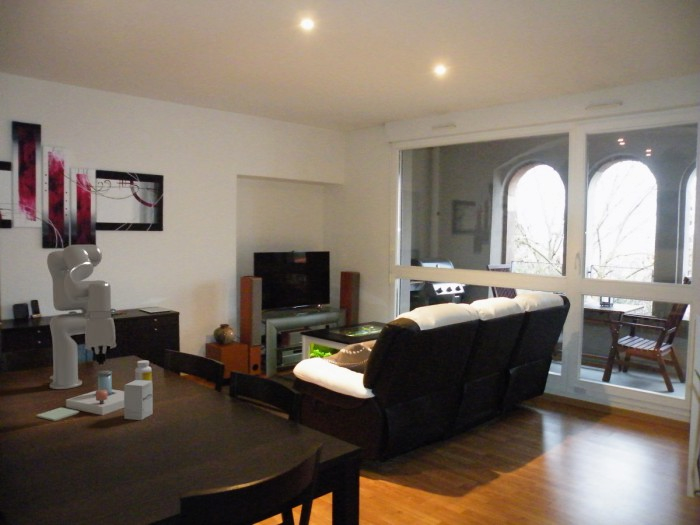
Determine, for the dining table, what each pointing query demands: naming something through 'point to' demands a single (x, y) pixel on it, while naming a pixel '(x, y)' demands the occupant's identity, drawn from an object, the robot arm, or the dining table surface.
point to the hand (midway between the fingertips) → (101, 363)
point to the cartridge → (105, 381)
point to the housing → (97, 402)
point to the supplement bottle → (143, 371)
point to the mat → (57, 413)
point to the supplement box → (138, 399)
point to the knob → (101, 396)
